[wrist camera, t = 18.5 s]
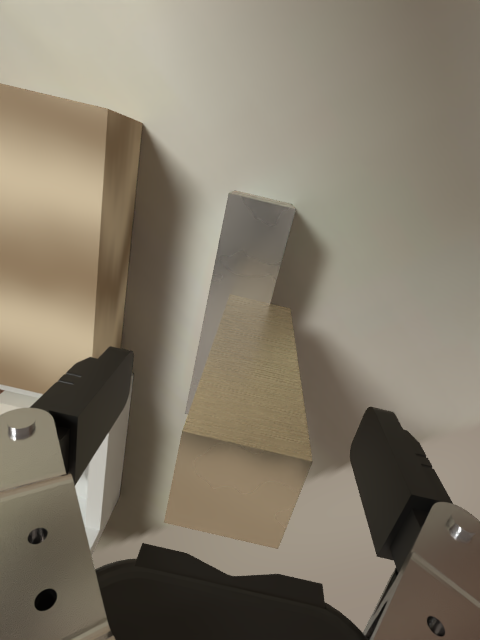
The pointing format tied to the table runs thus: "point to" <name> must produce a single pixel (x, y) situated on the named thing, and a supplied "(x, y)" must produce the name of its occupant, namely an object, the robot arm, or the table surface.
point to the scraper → (244, 390)
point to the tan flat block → (62, 233)
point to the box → (99, 474)
